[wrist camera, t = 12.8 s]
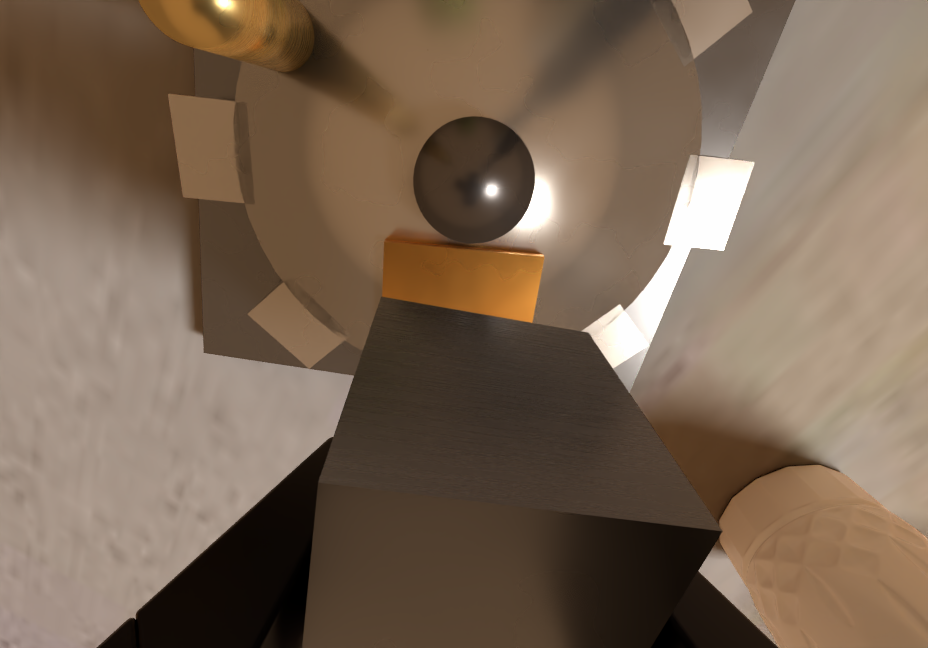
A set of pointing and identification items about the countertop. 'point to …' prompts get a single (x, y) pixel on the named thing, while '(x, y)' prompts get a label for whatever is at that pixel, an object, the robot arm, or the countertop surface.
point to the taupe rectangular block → (496, 495)
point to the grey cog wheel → (458, 154)
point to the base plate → (237, 335)
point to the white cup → (828, 562)
